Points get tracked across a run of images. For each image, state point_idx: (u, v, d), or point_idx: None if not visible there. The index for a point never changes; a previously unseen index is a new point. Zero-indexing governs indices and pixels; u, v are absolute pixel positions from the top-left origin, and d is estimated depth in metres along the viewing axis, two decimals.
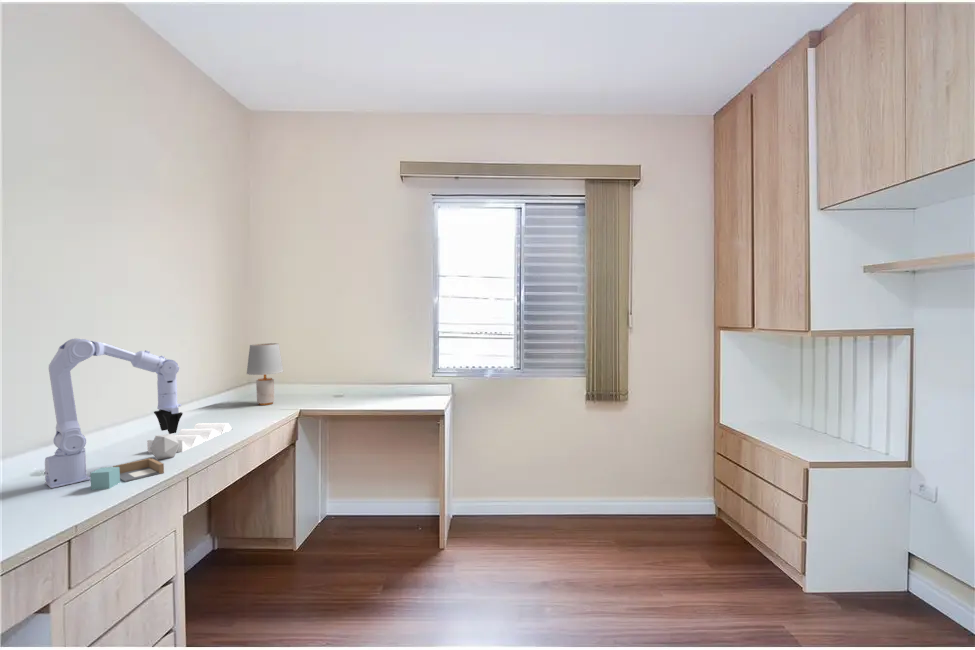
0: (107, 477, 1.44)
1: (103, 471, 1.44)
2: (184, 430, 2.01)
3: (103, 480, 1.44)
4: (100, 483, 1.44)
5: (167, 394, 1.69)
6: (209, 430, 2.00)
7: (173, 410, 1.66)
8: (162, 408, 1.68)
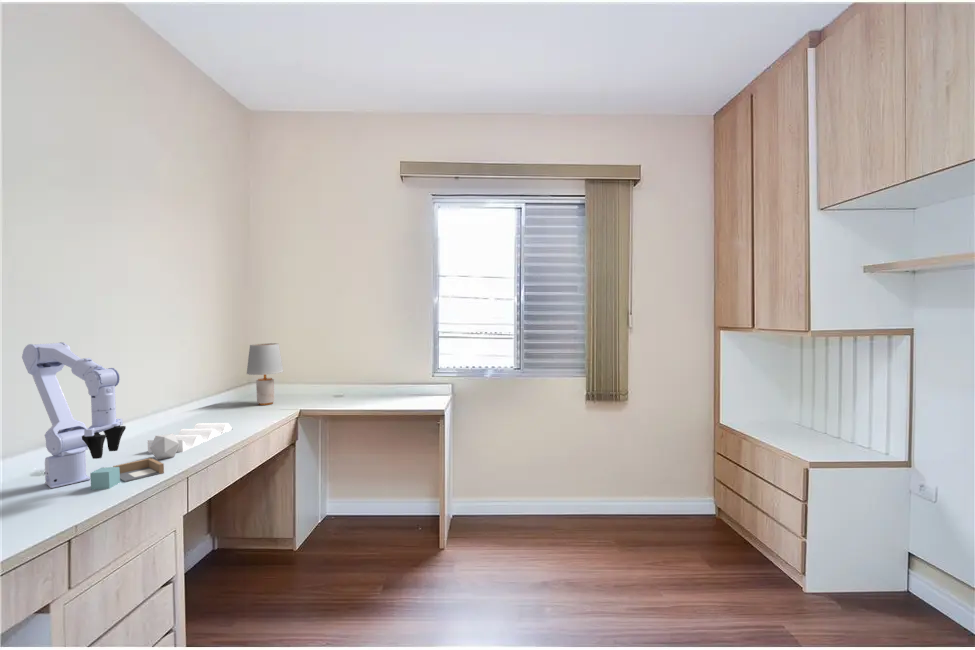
0: (107, 477, 1.44)
1: (103, 471, 1.44)
2: (184, 430, 2.01)
3: (103, 480, 1.44)
4: (100, 483, 1.44)
5: (94, 411, 1.43)
6: (209, 430, 2.00)
7: (86, 432, 1.39)
8: (90, 427, 1.43)
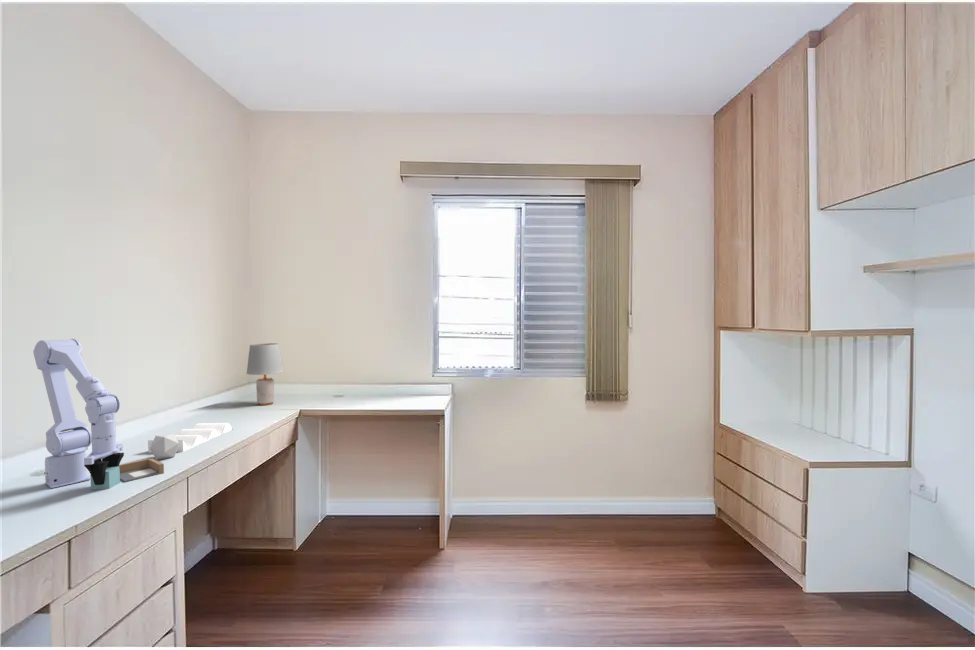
0: (107, 477, 1.44)
1: None
2: (184, 430, 2.01)
3: None
4: None
5: (94, 438, 1.43)
6: (209, 430, 2.01)
7: (85, 460, 1.39)
8: None
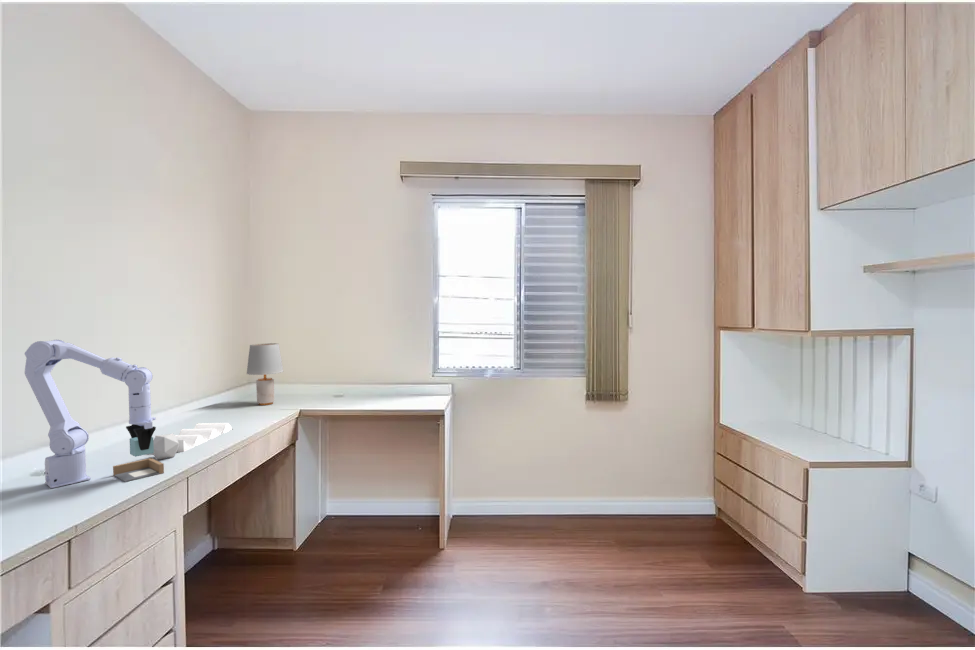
0: (151, 442, 1.56)
1: None
2: (185, 430, 2.01)
3: None
4: None
5: (139, 407, 1.54)
6: (210, 430, 2.01)
7: (146, 425, 1.51)
8: (134, 423, 1.53)
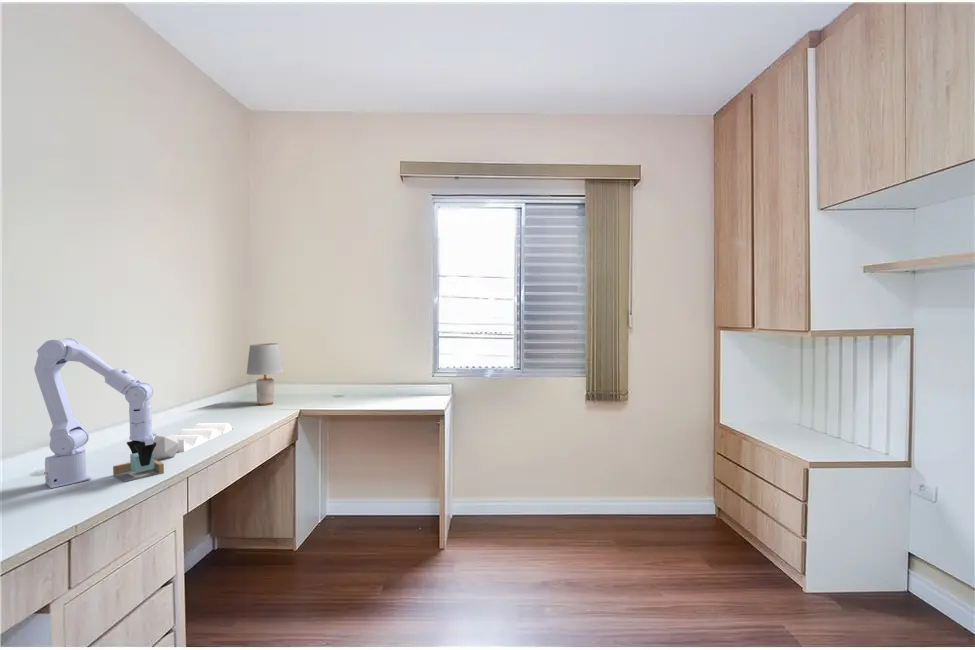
0: (152, 458, 1.56)
1: None
2: (185, 430, 2.01)
3: None
4: None
5: (140, 423, 1.54)
6: (210, 430, 2.01)
7: (147, 441, 1.51)
8: (135, 439, 1.53)
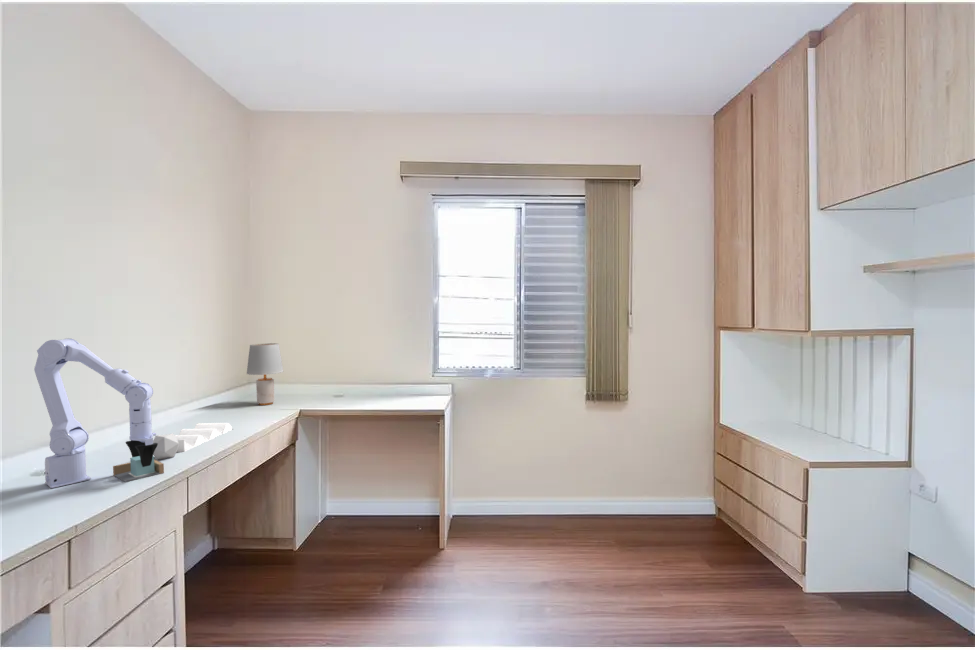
0: (152, 461, 1.56)
1: None
2: (185, 430, 2.01)
3: None
4: (145, 468, 1.55)
5: (140, 423, 1.54)
6: (210, 430, 2.01)
7: (147, 441, 1.51)
8: (135, 439, 1.53)
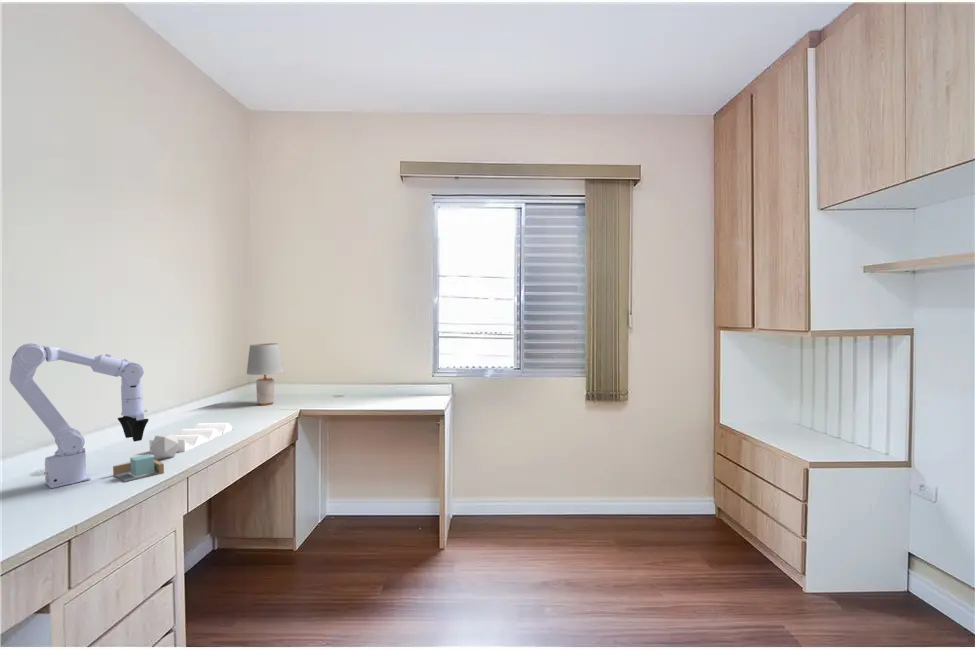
0: (152, 461, 1.56)
1: (145, 457, 1.56)
2: (185, 430, 2.01)
3: (148, 465, 1.56)
4: (145, 468, 1.55)
5: (131, 399, 1.59)
6: (211, 430, 2.01)
7: (138, 416, 1.57)
8: (126, 414, 1.59)
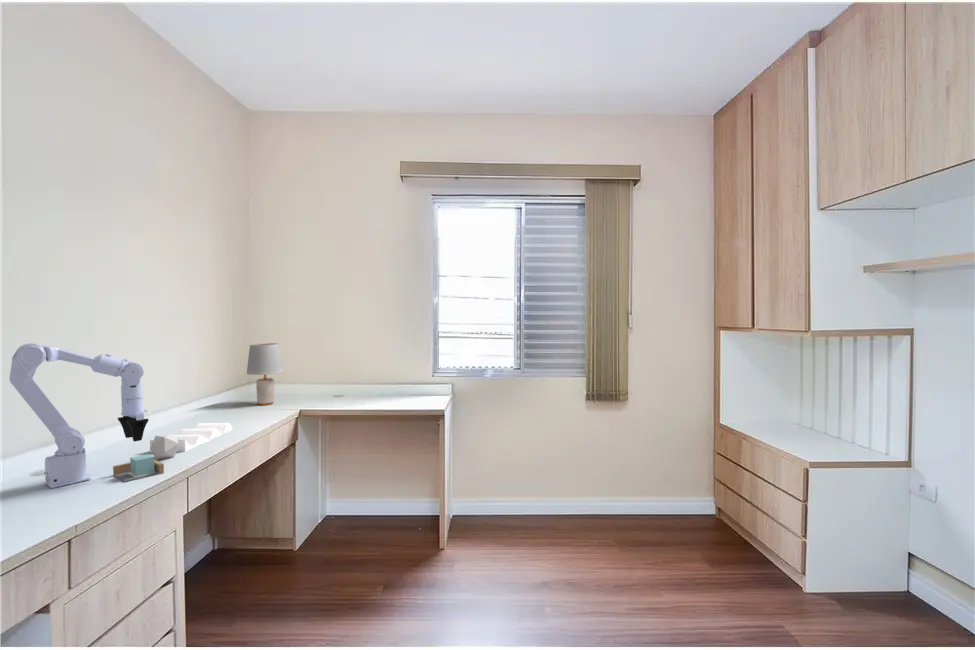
0: (152, 461, 1.56)
1: (145, 457, 1.56)
2: (186, 430, 2.01)
3: (148, 465, 1.56)
4: (145, 468, 1.55)
5: (131, 399, 1.59)
6: (211, 430, 2.01)
7: (138, 416, 1.57)
8: (126, 414, 1.59)
